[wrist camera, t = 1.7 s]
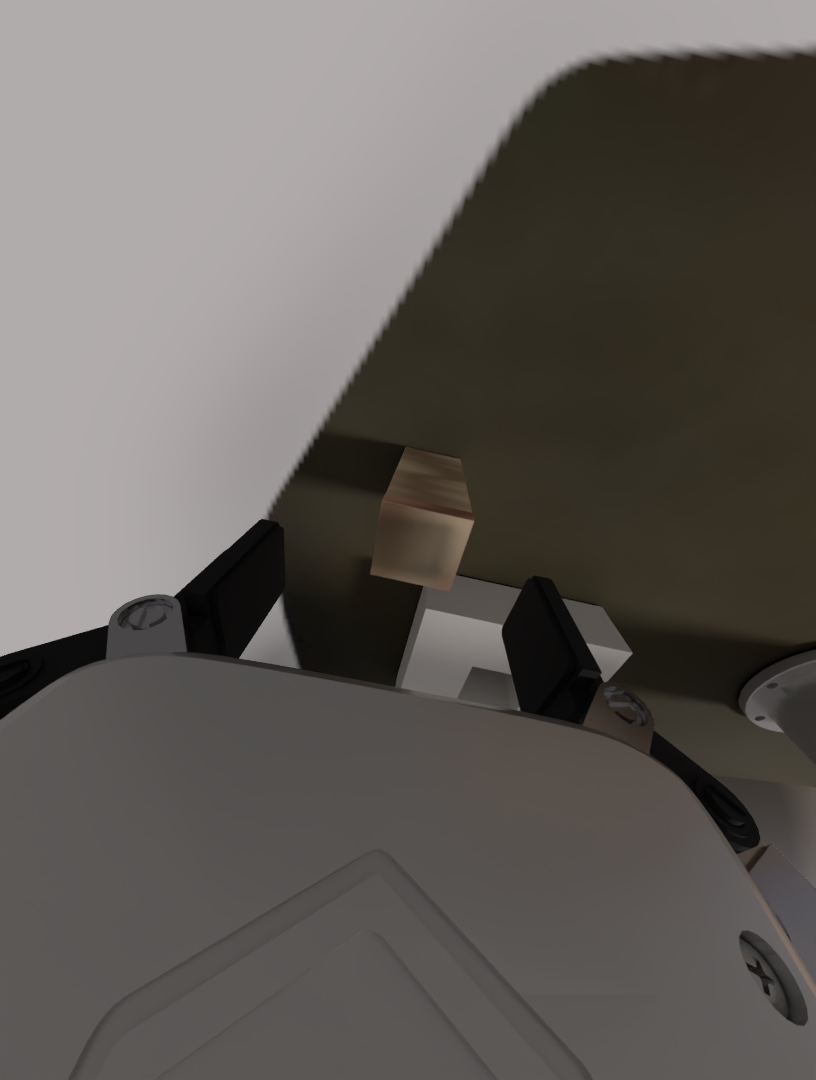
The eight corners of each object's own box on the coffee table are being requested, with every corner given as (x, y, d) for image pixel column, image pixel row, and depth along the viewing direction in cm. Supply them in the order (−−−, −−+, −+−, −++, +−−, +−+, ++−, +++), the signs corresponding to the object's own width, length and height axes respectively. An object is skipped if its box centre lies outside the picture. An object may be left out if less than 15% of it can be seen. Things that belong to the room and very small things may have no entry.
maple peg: (460, 458, 21) (474, 520, 13) (446, 508, 23) (449, 591, 15) (405, 446, 21) (382, 500, 13) (395, 497, 23) (369, 574, 15)
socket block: (602, 607, 27) (632, 653, 22) (530, 705, 35) (542, 753, 31) (428, 569, 26) (426, 608, 22) (396, 677, 35) (390, 721, 30)
